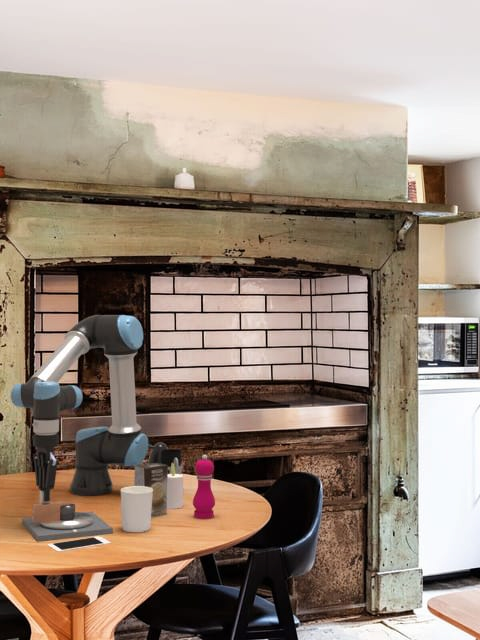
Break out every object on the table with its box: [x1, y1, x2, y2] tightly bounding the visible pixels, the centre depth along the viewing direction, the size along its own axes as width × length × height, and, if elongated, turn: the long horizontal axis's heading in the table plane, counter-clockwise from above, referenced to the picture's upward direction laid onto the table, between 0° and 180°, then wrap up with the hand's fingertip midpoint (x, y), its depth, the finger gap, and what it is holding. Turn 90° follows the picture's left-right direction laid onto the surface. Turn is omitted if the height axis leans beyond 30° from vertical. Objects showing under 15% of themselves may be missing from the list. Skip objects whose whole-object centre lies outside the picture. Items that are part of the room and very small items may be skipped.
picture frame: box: [160, 448, 183, 475], centre depth 296 cm, size 9×14×15 cm, turn 18°
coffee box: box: [133, 463, 168, 518], centre depth 265 cm, size 9×6×16 cm
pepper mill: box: [192, 454, 216, 520], centre depth 263 cm, size 7×7×20 cm
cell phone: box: [47, 535, 111, 553], centre depth 230 cm, size 8×16×1 cm, turn 125°
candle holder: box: [119, 485, 153, 533], centre depth 247 cm, size 10×10×12 cm
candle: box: [167, 463, 184, 510], centre depth 276 cm, size 6×6×15 cm
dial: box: [32, 500, 94, 529], centre depth 246 cm, size 18×16×6 cm
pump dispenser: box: [147, 441, 169, 464], centre depth 316 cm, size 10×10×15 cm
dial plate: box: [21, 511, 114, 542], centre depth 246 cm, size 22×22×2 cm
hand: (44, 511), depth 246 cm, fingers closed
